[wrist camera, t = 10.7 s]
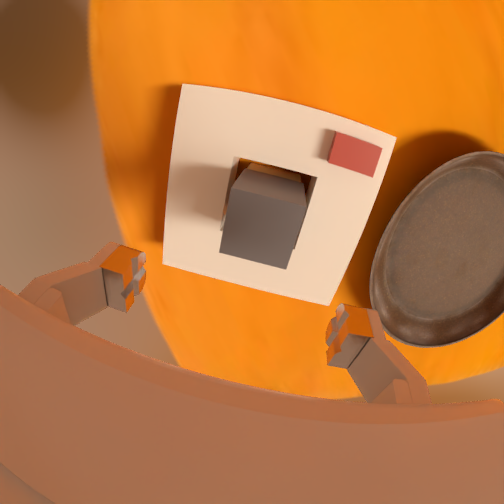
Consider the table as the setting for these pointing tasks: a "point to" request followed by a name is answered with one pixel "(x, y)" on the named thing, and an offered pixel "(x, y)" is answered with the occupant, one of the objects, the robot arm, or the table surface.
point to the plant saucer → (444, 255)
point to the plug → (264, 215)
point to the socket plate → (278, 154)
